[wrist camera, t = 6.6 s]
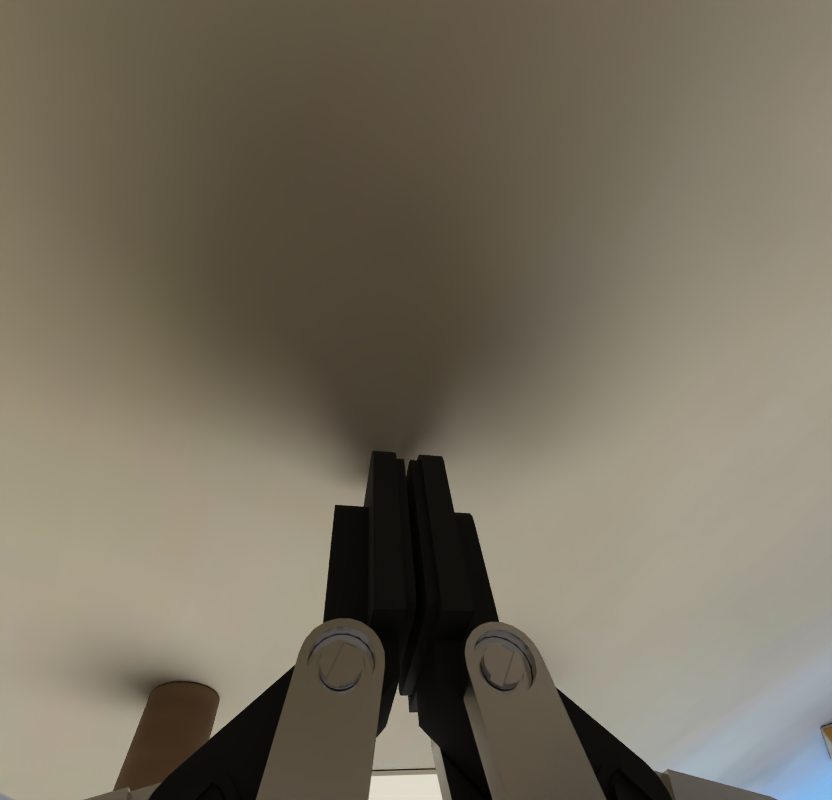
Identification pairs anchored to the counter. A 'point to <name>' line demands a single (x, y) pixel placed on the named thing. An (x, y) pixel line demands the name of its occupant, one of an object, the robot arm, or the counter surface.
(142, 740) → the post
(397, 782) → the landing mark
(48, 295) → the counter surface
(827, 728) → the small box
